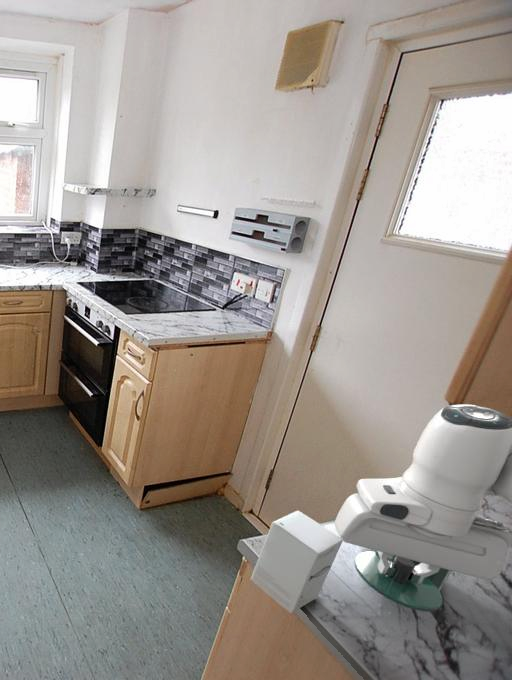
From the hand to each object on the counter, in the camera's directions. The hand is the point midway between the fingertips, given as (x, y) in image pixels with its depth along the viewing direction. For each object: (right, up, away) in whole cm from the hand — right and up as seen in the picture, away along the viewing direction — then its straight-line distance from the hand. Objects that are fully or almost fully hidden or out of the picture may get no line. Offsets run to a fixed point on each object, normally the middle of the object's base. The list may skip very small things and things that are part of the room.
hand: (397, 575), depth 73 cm
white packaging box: (-17, -4, +3) cm, 18 cm away
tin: (+8, -4, +9) cm, 13 cm away
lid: (0, -1, 0) cm, 1 cm away
